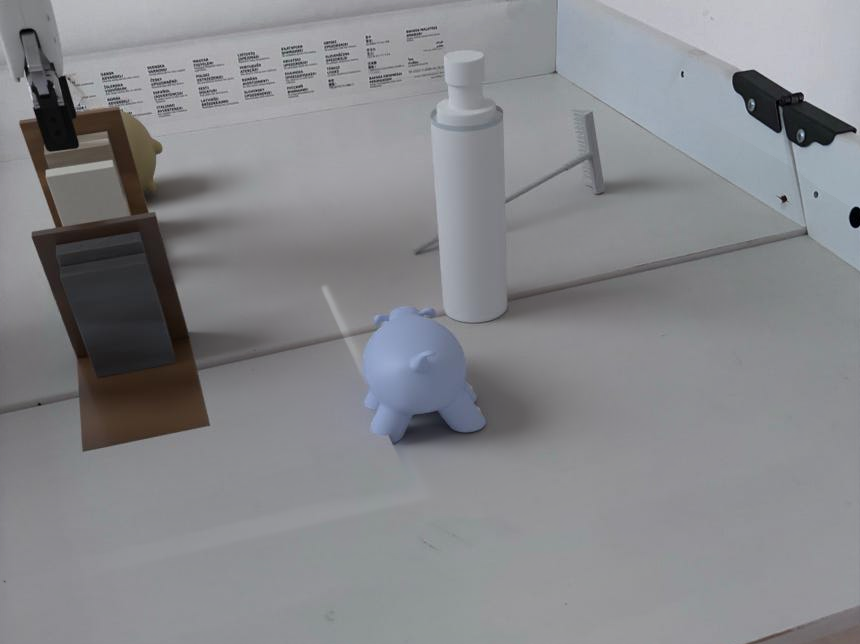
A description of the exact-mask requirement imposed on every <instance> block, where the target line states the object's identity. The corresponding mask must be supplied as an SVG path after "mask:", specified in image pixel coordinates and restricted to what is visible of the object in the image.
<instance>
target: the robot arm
mask: <svg viewBox="0 0 860 644" xmlns="http://www.w3.org/2000/svg"><path fill="white" fill-rule="evenodd" d="M53 8H54V7H53V4H52V1H51V0H0V44H1V47H2V50H3V51H2V52H3V54H4V58H5V61H6V65H7V68H8V71H9V75H10V78H11V79H12V80H13V81H14V82H16V83H21V79H22V78H26V81H27V85H28V86H27V87H28V89H29V93H30V97H31V101H32V105H33V106H32V110H33V113H34V116H35V118H36V119H37V123H38V126H39V129H40V132H41V135H42V138H43V141H44V145H45V148H46V150H47V151H49V152H53V151H61V150H69V149H76V148H78V147H79V141H78V138H77V135H76V131H75V128H74V124H73V121H72V119H75V118H76V116H77V115H76V112H77V111H76V107H75V103H74V100H73V97H72V93H71V90H70V87H69V83H68V80H67V76H66V75H64V57H63V51H62V44H61V38H60V33H59V29H58V23H57V20H56V16H55V11H54V9H53Z"/></svg>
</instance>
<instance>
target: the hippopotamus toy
mask: <svg viewBox="0 0 860 644" xmlns="http://www.w3.org/2000/svg"><path fill="white" fill-rule="evenodd" d="M426 316H428V317H426ZM436 316H437V310H436V309H435V308H434V307H431V306H430V307H425V308H424V309H422V310H419V309H417V308H415V307H414V306H409V305H402V306H398V307H396V308H394V309H391V311H390V313H389V315H388V314H380V313H379V314H376V315H375V316H374V317H373V324H374V326H376V327H379V326H380V325H381V324H382V325H381V326H380V327H379V328H378V329H377V330H376V331H375V332H374V333H373V334H372V335H371V337H370V338H369V339H368V341H367V343H366V345H365V347H364V351H363V354H362V372H363V373H362V374H363V377H364V380H365V383H366V385H367V387H368V389H369V390H368V392H367V394H366V396H365V398H364V402H363V405H364V406H365V407H366V408H367V409H369V410H373V411H376V412H375V414H374V416H373V419H372V421H371V423H370V425H369V429H370V431H371V433H373V434H375V435H379V436H388V437H389V440H390V442H391V444H392V445H393V444H396V443H397V442H399V441H400V440H401V439H402V438H403V437H404V435H405V433H406V431H407V429H408V426H409V425H410V422H411V420H412V418H413V416H414V415H422V414H428V413H433V412H436V411H437V412H438V414H439V415H440V416H441V417H442V419H443V420H444V421H445V423H446V424H447V425H448V427H450V429H451V430H453V431H456V432H458V433H472V432H473V433H474V432H477V431H479V430H481V429H483V428H484V427H485V426H486V424H487V420H486V418H485V416H484V414H483V413H482V411H481V408H480V406H477V405H476V404H475V403H476V401H477V398H478V396H477V394H476V393H475V391H474V388H473V386H472V385H470V384H469V383H468V382H467V380H466V378H467V360H466V355H465V353H464V350H463V348H462V345H461V344H460V341H459V340H458V338H457V337H456V336H455V334H454V333H452V331H451V330H449V329H448V328H447V327H446V326H445V325H443V324H441V323H440V322H438V321H436V320H435V319H434V318H436ZM429 317H430V318H429Z"/></svg>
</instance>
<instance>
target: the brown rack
mask: <svg viewBox="0 0 860 644" xmlns="http://www.w3.org/2000/svg"><path fill="white" fill-rule="evenodd" d="M31 240H32V243H33V245H34V248H35V250H36V253H37V255H38V258H39V261H40V263H41V266H42V269H43V272H44V275H45V277H46V279H47V282H48V286H49V289H50V290H51V293H52V296H53V298H54V301H55V304H56V307H57V309H58V312H59V315H60V317H61V320H62V322H63V325H64V328H65V331H66V333H67V336H68V338H69V341H70V344H71V347H72V349H73V352H74V354H75V355H74V356H75V358H76V368H77V369H76V370H77V384H78V401H79V417H80V433H81V451H82V453H85V452H89V451H94V450H98V449H99V450H100V449H103V448H108V447H109V448H110V447H113V446H118V445H124V444H127V443H132V442H137V441H143V440H148V439H152V438H157V437H162V436H166V435H171V434H177V433H181V432H186V431H191V430H196V429H201V428H206V427H210V426H211V424H210V420H209V415H208V411H207V407H206V402H205V398H204V394H203V390H202V385H201V381H200V377H199V372H198V368H197V364H196V358H195V354H194V350H193V345H192V343H191V338H190V333H189V329H188V325H187V323H186V319H185V315H184V311H183V308H182V304H181V300H180V297H179V293H178V290H177V286H176V282H175V278H174V275H173V271H172V268H171V263H170V261H169V257H168V254H167V250H166V246H165V243H164V239H163V234H162V232H161V228H160V224H159V220H158V217H157V213H156V211H151V212H150V211H149V213H144V214H138V215H132V216H125V217H119V218H113V219H107V220H101V221H95V222H89V223H82V224H76V225H70V226H64V227H58V228H56V227H52V228H45V229H40V230H34V231H32V232H31Z"/></svg>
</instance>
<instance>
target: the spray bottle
mask: <svg viewBox="0 0 860 644" xmlns="http://www.w3.org/2000/svg"><path fill="white" fill-rule="evenodd" d="M443 71H444V81H445V84H447V86H448V87H447V88H448V89H447V91H448V98H444V99H442V100H441V101H439V102H438V104H436V108H434V109H433V110H432V111H431V112H430V114H429V118H430V134H431V148H432V149H431V150H432V167H433V178H434V193H435V194H434V195H435V207H436V221H437V223H436V224H437V235H438V237H439V241H438V249H439V263H440V278H441V291H442V305H443V311H444V313H445V314H446V315H447V316H448V317H449V318H450V319H452V320H455V321H458V322H461V323H467V324H468V323H469V324H477V323H478V324H479V323H485V322H489V321H493V320H495V319H498V318H499V317H501V316H502V315H503V314H504V313H505V312H506V311H507V309H508V279H507V278H508V271H507V269H508V268H507V264H508V263H507V222H506V218H507V217H506V204H505V198H506V175H505V174H506V173H505V171H506V169H505V138H504V137H505V133H504V131H505V130H504V110H503V108H502V107H500V106H499V105H497V103H496V101H495V100H493V99H492V98H490V97H488V96H484V93H483V89H484V88H483V82H485V81H486V74H485V73H486V67H485V54H484V53H483V52H482V51H479V50H474V49H460V50H454V51H450V52H448V53H446V54H444V56H443Z"/></svg>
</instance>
